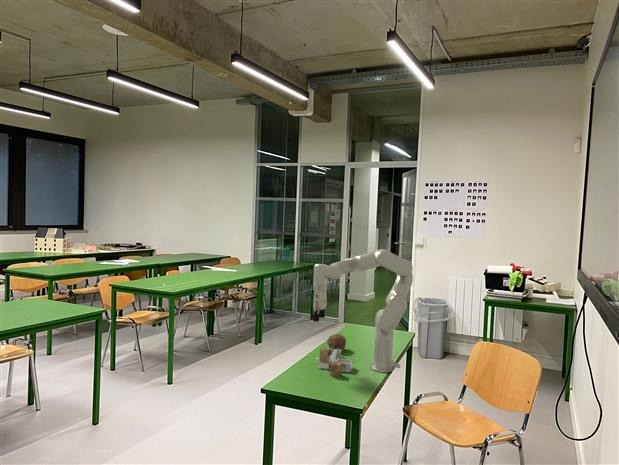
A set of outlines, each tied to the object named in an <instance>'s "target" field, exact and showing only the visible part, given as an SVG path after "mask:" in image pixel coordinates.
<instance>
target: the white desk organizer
mask: <svg viewBox="0 0 619 465" xmlns="http://www.w3.org/2000/svg"><path fill="white" fill-rule="evenodd" d="M331 353H332V349H331V348H328V347H321V348H320V349H319V357H320V358H319V360H318V362H317V368H318V369H323V370H329V371H330V369H329V363H330V362H340V363H341V373H342V372H344V373H351V372H352V370H353V368H354V359H349V358H342V357H340V358H338V359H337V360H334V359H330V355H331Z"/></svg>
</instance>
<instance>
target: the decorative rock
mask: <svg viewBox="0 0 619 465" xmlns="http://www.w3.org/2000/svg"><path fill="white" fill-rule="evenodd" d="M346 342H347V338H346V337H345V336H344V335H342V334H341V333H336V334H332V335H330V336H329V337H328V338H327V340H326V343H327V345H328V346H327V347H329V349H332V347H333V349H337V348H339V350H342V351H341V352H343V351H345V348H346V345H347V344H346Z"/></svg>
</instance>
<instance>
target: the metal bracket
mask: <svg viewBox="0 0 619 465" xmlns="http://www.w3.org/2000/svg"><path fill="white" fill-rule="evenodd" d="M342 352H343V351H342V350H339V348H337V349H333V347H332V353H331V355H330V359H334V360H337V359H338V358H341V355H342ZM319 358H320V356H316V357H315V361H319Z"/></svg>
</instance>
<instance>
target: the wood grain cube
mask: <svg viewBox="0 0 619 465" xmlns="http://www.w3.org/2000/svg"><path fill="white" fill-rule="evenodd" d="M329 369H330V370H329ZM329 369H328V370H329V377H333V378H334V377H335V378H340V376H341V374H342V371H341V363H340V362H330V363H329Z"/></svg>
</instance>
